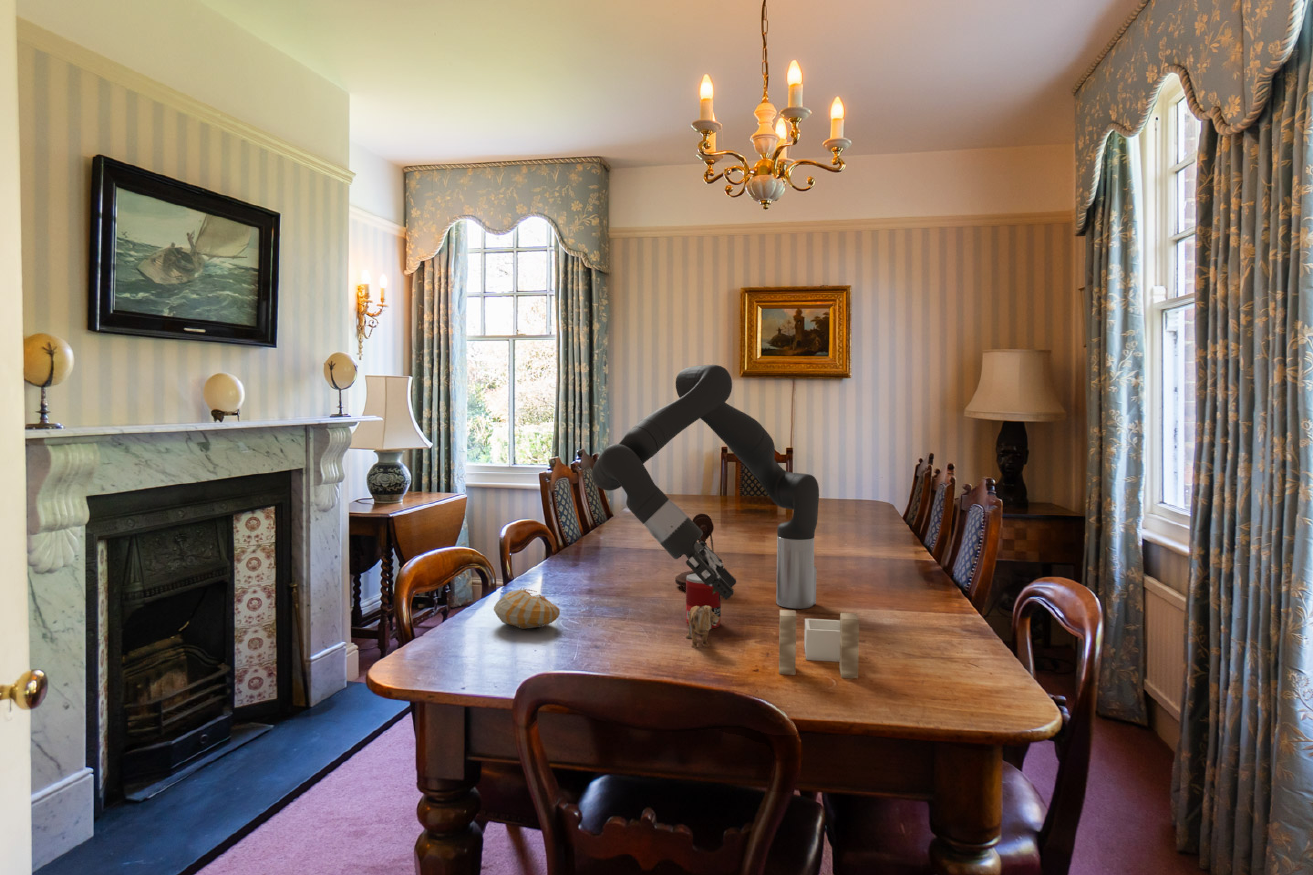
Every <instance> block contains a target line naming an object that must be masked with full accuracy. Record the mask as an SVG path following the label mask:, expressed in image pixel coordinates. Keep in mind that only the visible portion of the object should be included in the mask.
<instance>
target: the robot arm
mask: <svg viewBox="0 0 1313 875" xmlns="http://www.w3.org/2000/svg"><path fill="white" fill-rule="evenodd" d="M732 389H733V381H732V376H731V374H730V372H729V371H728V370H727V369H726V368H725V367H723V366H722V365H716V364H706V365H695V366H689V367H686V368H684V369H682V370H680V371H679V373H678V374H677V375H676V377H675V390H676V393H677V396H678V399H676V400H675V401H672V402H670V403H668V404H666V405H664V406H662V407H660V408H658V409H657V410H655V411H652V412H651V413H650V414H648V415H647V416H645V417H644V418H643V419H641V420H640V421H639V422H637V424H635V425H634V426H633V427H632V428H631V429H629V431H628V432H627V433H626V434H625V435H624V436H623V438H622V439H621V440H620V442H619V443H613V444H610V445H608V446H607V447H606V448H605V449H604V450H603V452H601V454H600V455H599V457H598V458H597V460H596V461H595V463H594V464H593V466H592V469H591V476H592V480H593V483H595V485H596V486H597V487H598V488H600V489H601V490H603V491H616V490H618V489H620V488H622V489H623V490H624V492H625V494H626V507H627V508H628V510H629V511H630V512H631V513H632V515H634V516H635V518H636V519H637V520H639V522H640V523H642V525H643V526H644V527H645V528H646V529H647V531H648V532H649V534H650V535H651V536H652V537H653V538H654V539H655V540H656V541H657V542H658V543H659V545H661V547H663V549H664V550H665V551H666V552H667V553H668V554H669V555H670V556H671V557H672V558H673V559H674V560H678V559H680V558H681V557H682V556H684V555H685V557H686V558H687V560H686V561H685V564H686V565H687V566H688V567H689V568H690V570H691V571H694V572H695V574H696V575H697V576H698V577H699V578H700V579H701V580H702V581H703V582H704V584H705V585H707V586H709V585H710V586H713V587H714V588H715V590H716V591H717V592H718V593H719V594H720V595H721V598H723V599H724V600H726V601H727V600H729V599H730V598H731V597H732V596H733V595H734V594H735V591H734V589H733V586H735V585H736V584H737V579H736V578H735V577H734V576H733V575H732V574H731V573H730V572H729V571H728V570H727V568H725V564H724V563H723V560H722V559H721V558H720V557H719V556H718V555H717V554H716V553H715V552H713V551H712V548H710V546H708V544H707V545H706V544H705V543H704V542H703V541H701V542H700V543H699V542H698V540H699V539H700V537H701V536H702V535H703V532H702V531H701V530H700V529H699V527H698V526H697V525H696V524H695V523H694V522H693V521H692V520H693V519H691V518H690V517H689V516H688V515H687V514H686V513H685V512H684V511H683V510H682V509H681V507H679V505H677V504H676V503H674V502H673V501H672V500H671V499H670V498H669V497H668V496H667V495H666V494H665V493H664V492H663V491H662V490H661V489H660V487H659V486H657V485H656V484H655V482H654V480H653V479H652V476H651V475H650V473H649V471H648V470H647V468H646V467H645V463H646V462H647V461H649V460H650V459H651V458H652V457H654V456H655V455H657V453H659V451H661V450H662V449H663V448H664V447H665V446H666V445H667V444H668V443H669V442H670V441H671V440H672V439H674V438H675V437H676V436H677V435H679V434H680V433H681V432H682V431H685V429H686V428H688V427H690V426H691V425H692V424H694V423H695V422H697V421H698V420H699V419H700V420H702V421H703V422H704V423H705V424H706V425H707V426H708V427H709V428H710V429H711V430H712V431H713V432H714V433H715V435H716V436H718V438H719V439H720V440H721V441H722V442H723V443H724V444H725V445H726V446H727V447H728V449H729V450H730V451H731V452H732V453H733V454H734V456H735V457H736V458H737V459H738V460H739V461H741V463H742V464H743V465H744V466H745V467H746V468H747V469H748V470H749V471H750V473H751V474H752V475H753V476H754V477H755V479H757V480H758V483H760V485H761V486H762V488H763V489H764V490H765V491H766V493H767V495H768V496H769V497H770V499H771V500H772V502H773V503H774V504H775V505H776V506H777V507H780V508H782V509H786V510H787V509H788V510H793V514H792V518H791V519H790V520H789V521H785V522H781V523H779V524H778V525H777V532H776V533H777V534H776V535H777V536H776V590H775V591H776V597H775V599H776V605H777V606H780V607H783V608H787V609H796V610H798V609H800V610H801V609H809V608H812V607H813V606H814V605H816V604H817V567H816V565H815V532H816V528H817V525H818V514H819V502H820V501H819V499H820V488H819V483H818V480H817V479H816V477H815V476H814V475H812V474H810V473H809V474H808V473H801V472H800V473H799V472H789V471H787V470H785V469H784V468H782V467H781V466H780V464H779V463H778V462H777V461H776V460H775V458H776V446H775V443H774V440H773V438H772V436H771V435H770V434H769V432H767V430H766V429H765V428H764V427H763V425H762V424H761V423H760V422H759V421H757V420H756V419H755V418H754V417H752V416H750V415H749V414H747V413H745V412H743V411H741V410H739V409H738V408H736V407H734V406H732V405H730V404H728V403H727V401H728V399H729V398H730V396H731V394H732ZM711 557H712V558H711ZM709 574H711V575H710V576H708V575H709Z"/></svg>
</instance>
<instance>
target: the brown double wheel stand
mask: <svg viewBox="0 0 1313 875" xmlns="http://www.w3.org/2000/svg"><path fill="white" fill-rule="evenodd" d="M691 520H692V521H693V522H694V523H695V524H696V525H697V526H698V527H699V529H700V530H701V531H702V532H703V535H702V536H701V537H700V539H699V540H698V541H697V542H698V543H700V542H701V541H703V542H704V543H705V544H706V545H707V546H708V543H707V542H706V541H707V540H708V539H709V538H710V540H709V541H710V547H711V548H710V549H711V550H712V551H713V552H714V550H715V549H714V542H713V536H712V535H713V532H714V528H715V526H714V523H713V521H712V520H713V519H712V518H711V516H709V514H706V513H698V514H696V515H695V516H693V519H691ZM714 553H715V552H714ZM711 558H712V557H711ZM690 574H695V572H694V571H693V570H688V571H684V572H681V573H680V574H678V575H676V576H675V581H674V583H675V584H676V585H678V586H680V587H683V591H684V592H686V578H687V576H688V575H690Z"/></svg>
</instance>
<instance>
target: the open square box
mask: <svg viewBox="0 0 1313 875" xmlns="http://www.w3.org/2000/svg"><path fill="white" fill-rule="evenodd" d="M803 639H804V640H803V641H804V643H803V644H804V646H803V647H804V655H805V660H806V661H821V662H836V663H839V661H840V619H822V618H821V619H820V618H804V638H803Z"/></svg>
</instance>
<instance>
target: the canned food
mask: <svg viewBox="0 0 1313 875" xmlns="http://www.w3.org/2000/svg"><path fill="white" fill-rule="evenodd" d="M710 575H711V574H709V575H708V576H710ZM694 606H699V607H702V606H710V607H711V608H712V609H711V610H712V612H714V613H715V615H717V616H718V617H719V618H720V619H719V620H718V622H717V625H716V626H714V625H712V624H711V629H715V628H718V627H719V626H720V625H721V624H720V623H721V620H722V617H721V616H722V613H721V612H722V610H721V608H722V607H721V606H722V596H721V595H720V594H719V593H718V592H717V591H716V590H715V588H714V587H713V586H710V585H709V586H707V585H705V584H704V582H703V581H702V580H701V579H700V578H699V577H698V576H697V575H696V574H690V575H688V576H687V578H686V591H685V621H686V624H687V625H688V626H689V612H690V610H691V608H692V607H694Z"/></svg>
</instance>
